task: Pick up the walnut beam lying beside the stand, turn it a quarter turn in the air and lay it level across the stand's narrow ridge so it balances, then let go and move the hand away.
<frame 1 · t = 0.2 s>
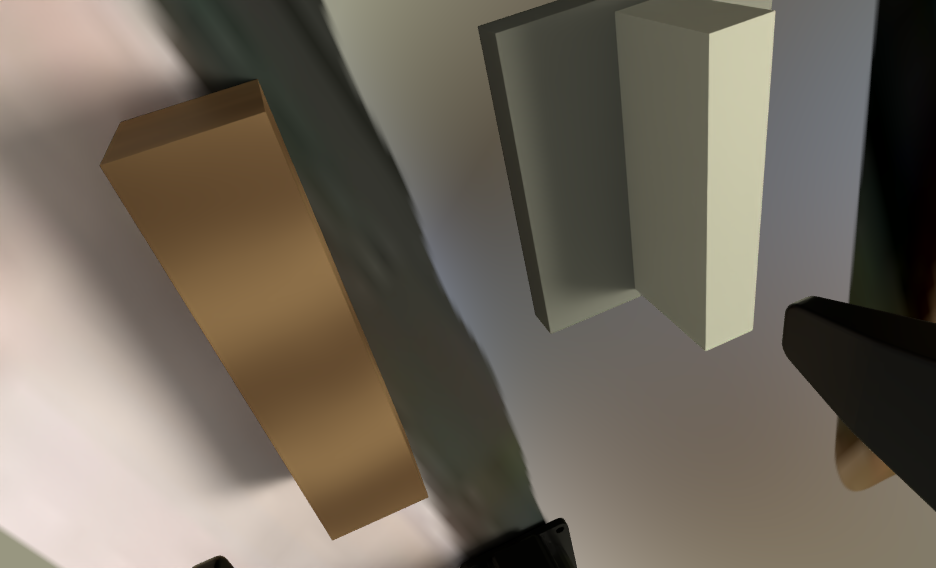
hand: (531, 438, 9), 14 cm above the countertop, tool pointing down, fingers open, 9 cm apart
ridge stand: (627, 148, 23), on the countertop
walnut beam: (293, 307, 22), on the countertop
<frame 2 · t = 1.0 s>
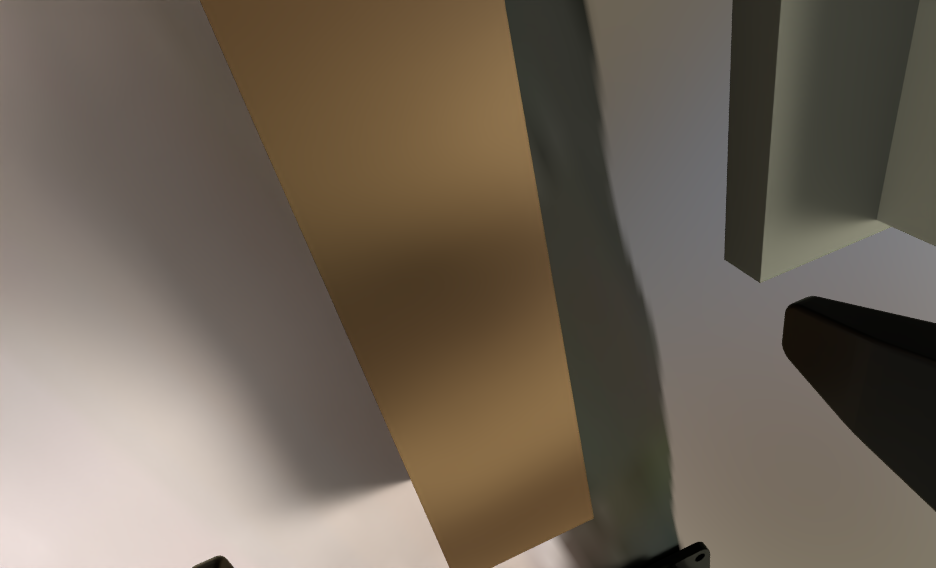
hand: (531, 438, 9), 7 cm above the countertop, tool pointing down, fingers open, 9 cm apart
ridge stand: (892, 4, 16), on the countertop
walnut beam: (404, 231, 15), on the countertop
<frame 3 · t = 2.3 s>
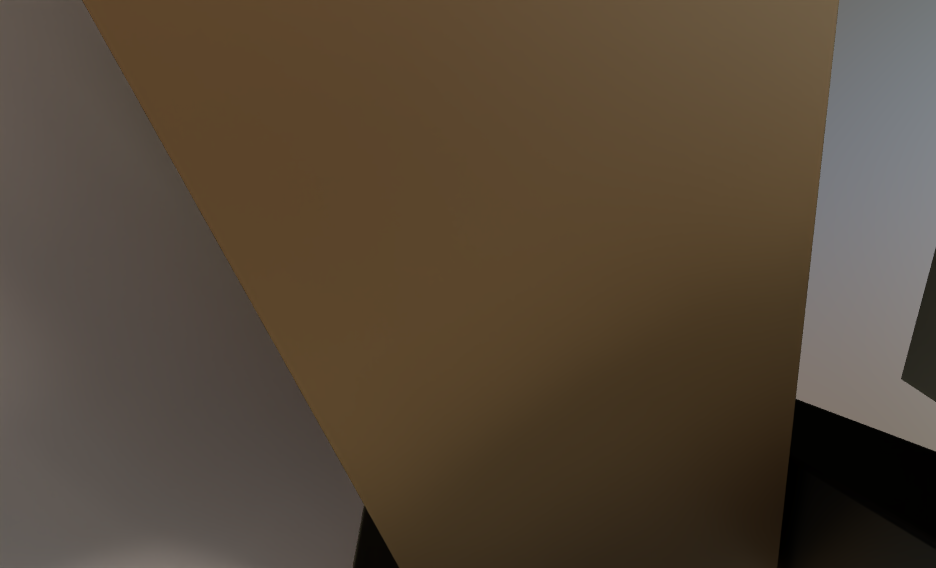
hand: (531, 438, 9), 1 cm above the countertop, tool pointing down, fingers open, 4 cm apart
walnut beam: (496, 381, 10), on the countertop, touching gripper
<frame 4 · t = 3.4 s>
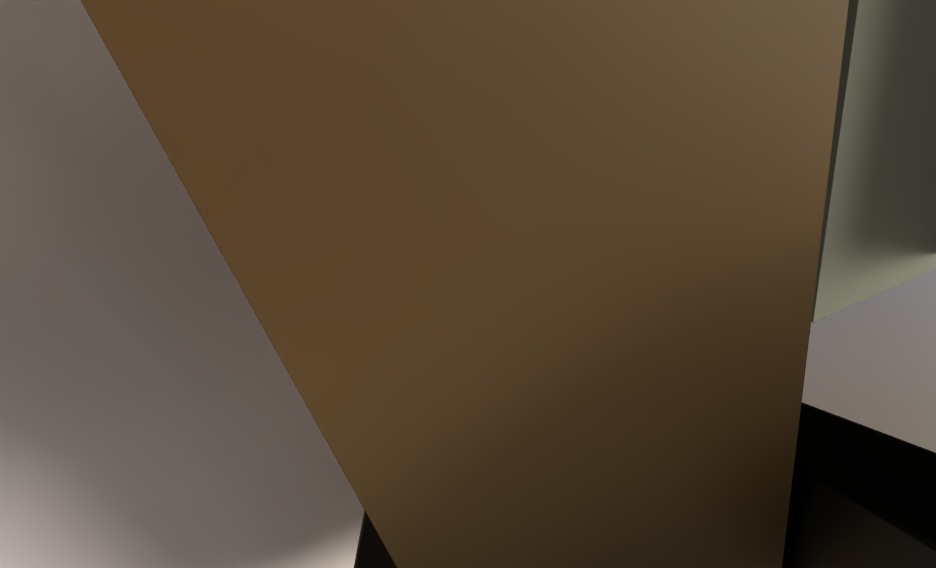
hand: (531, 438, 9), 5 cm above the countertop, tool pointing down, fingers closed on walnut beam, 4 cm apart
walnut beam: (498, 383, 10), point 4 cm above the countertop, touching gripper
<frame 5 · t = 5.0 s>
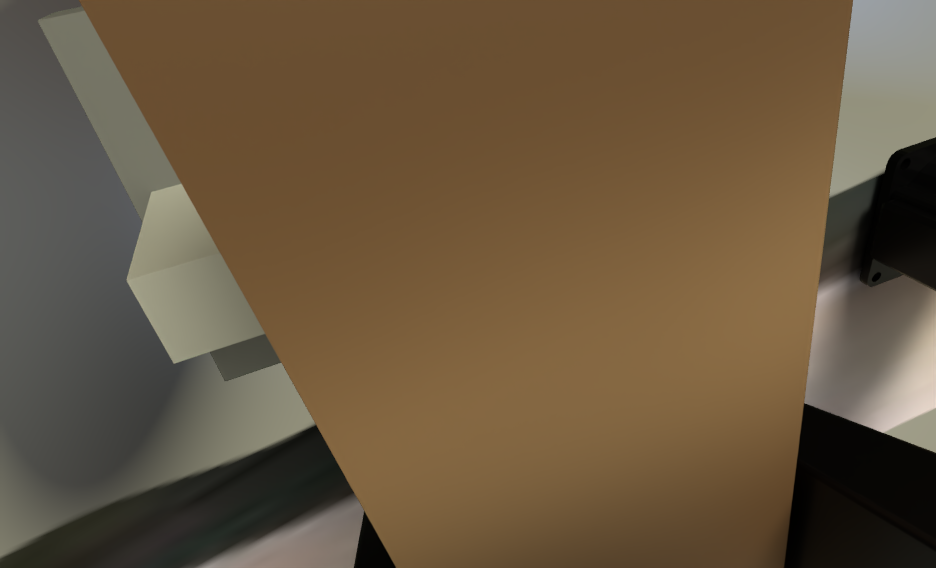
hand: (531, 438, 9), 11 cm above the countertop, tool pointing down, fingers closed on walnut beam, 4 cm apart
ridge stand: (369, 151, 17), on the countertop
walnut beam: (499, 383, 10), point 10 cm above the countertop, touching gripper
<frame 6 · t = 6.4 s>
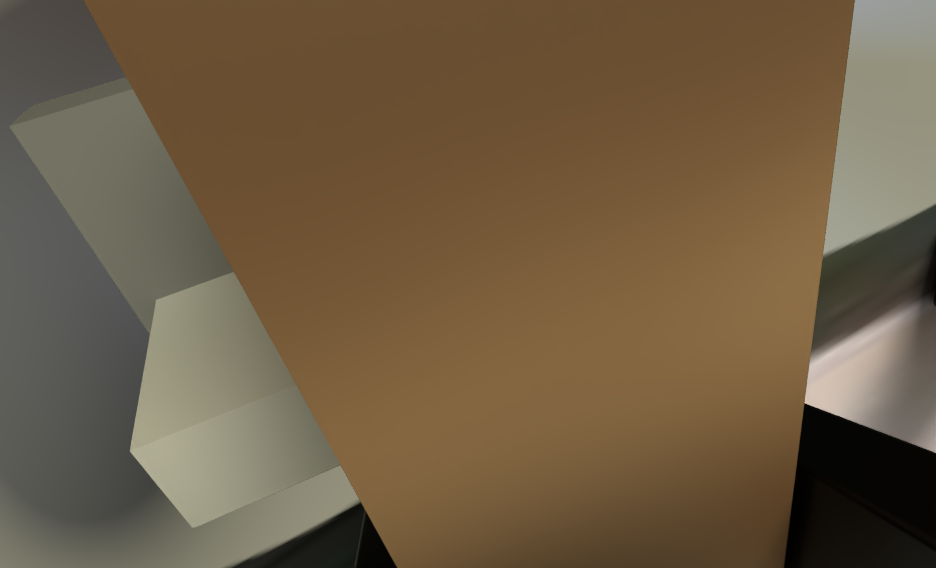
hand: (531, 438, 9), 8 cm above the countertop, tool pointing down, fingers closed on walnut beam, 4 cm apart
ridge stand: (398, 222, 15), on the countertop
walnut beam: (498, 383, 10), point 7 cm above the countertop, touching gripper
when the fingers open (8 cm above the countertop, at t = 6.8 s): walnut beam stays where it is, resting on ridge stand.
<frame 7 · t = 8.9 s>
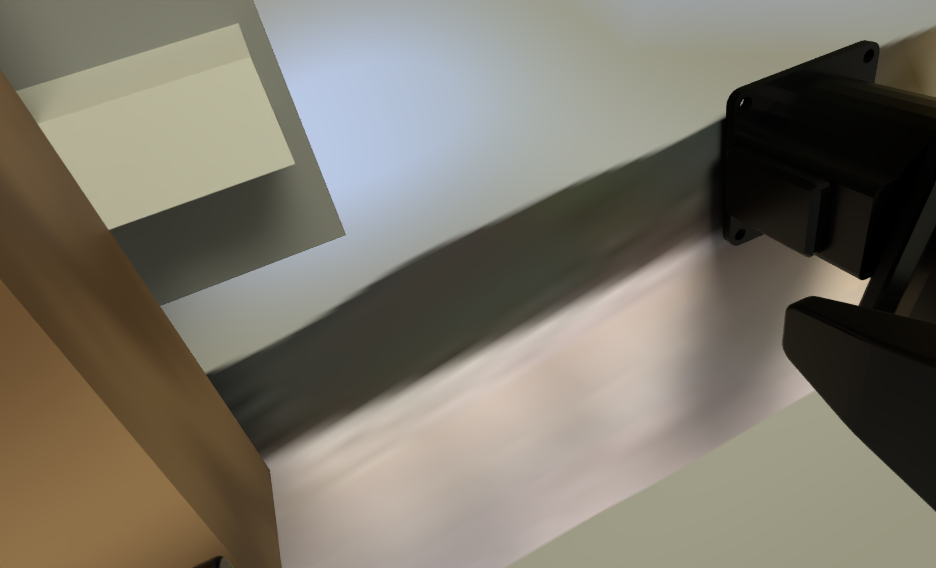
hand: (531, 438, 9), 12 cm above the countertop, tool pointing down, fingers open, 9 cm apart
ridge stand: (32, 125, 15), on the countertop
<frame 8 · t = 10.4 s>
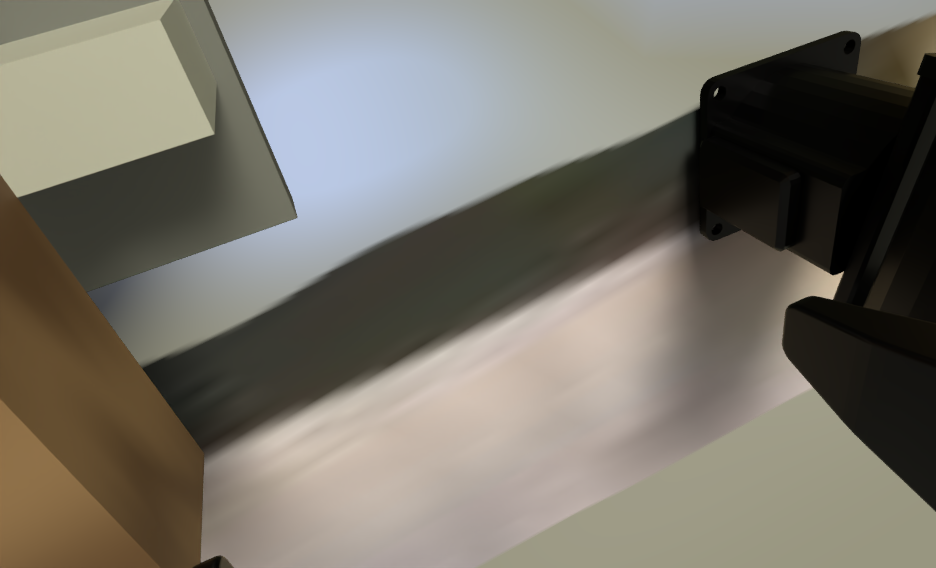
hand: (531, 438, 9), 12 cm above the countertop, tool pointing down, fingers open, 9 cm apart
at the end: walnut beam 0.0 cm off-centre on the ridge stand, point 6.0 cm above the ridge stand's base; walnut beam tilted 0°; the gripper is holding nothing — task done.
